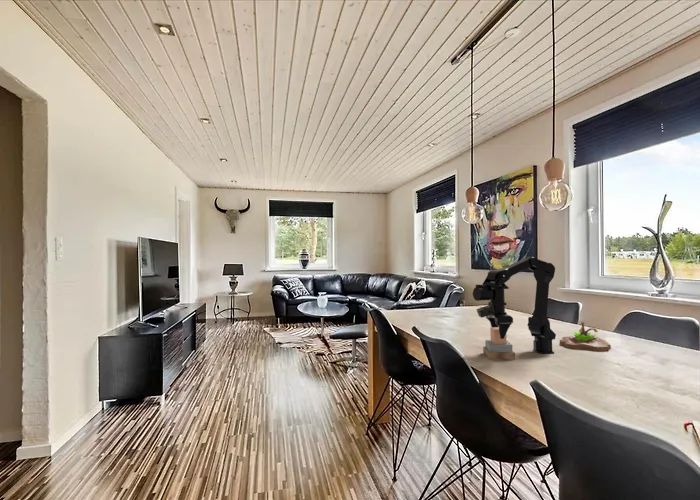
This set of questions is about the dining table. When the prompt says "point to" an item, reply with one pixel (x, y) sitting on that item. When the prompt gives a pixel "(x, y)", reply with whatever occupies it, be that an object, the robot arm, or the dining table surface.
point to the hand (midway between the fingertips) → (498, 336)
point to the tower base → (499, 355)
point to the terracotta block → (497, 336)
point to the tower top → (498, 347)
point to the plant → (585, 341)
